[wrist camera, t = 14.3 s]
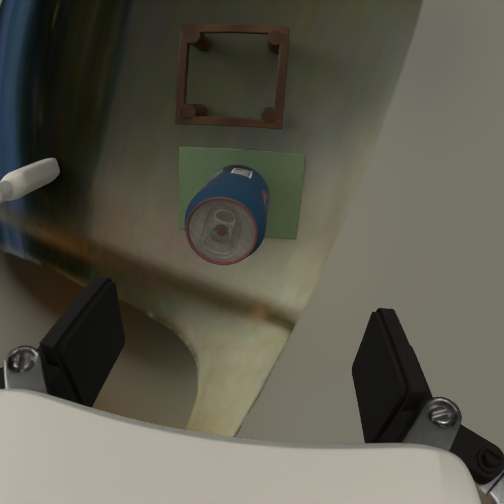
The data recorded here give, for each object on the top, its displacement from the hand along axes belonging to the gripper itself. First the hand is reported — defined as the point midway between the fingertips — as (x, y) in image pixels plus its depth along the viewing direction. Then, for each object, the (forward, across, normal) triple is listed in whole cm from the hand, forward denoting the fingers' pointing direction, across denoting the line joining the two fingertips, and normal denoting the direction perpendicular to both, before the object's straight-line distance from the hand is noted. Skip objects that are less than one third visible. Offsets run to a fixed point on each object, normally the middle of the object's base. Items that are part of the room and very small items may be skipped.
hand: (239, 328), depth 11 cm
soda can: (+27, +3, +3) cm, 27 cm away
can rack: (+27, +4, -10) cm, 29 cm away
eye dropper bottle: (+27, +30, +2) cm, 40 cm away
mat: (+27, +3, +3) cm, 27 cm away
